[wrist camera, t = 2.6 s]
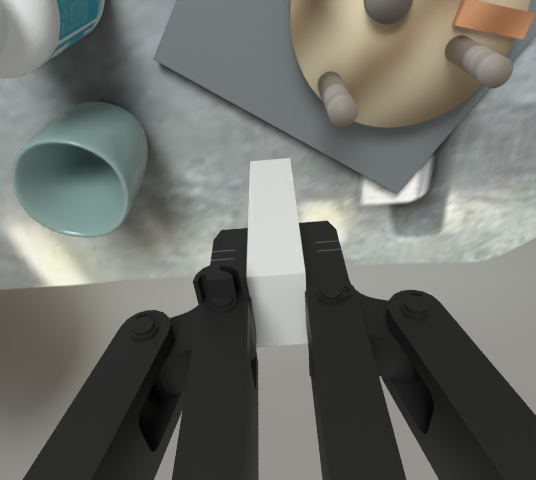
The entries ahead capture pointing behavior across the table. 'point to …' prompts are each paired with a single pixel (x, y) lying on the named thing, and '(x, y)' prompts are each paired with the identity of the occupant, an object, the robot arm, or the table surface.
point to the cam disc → (403, 54)
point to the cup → (82, 169)
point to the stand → (295, 85)
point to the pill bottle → (42, 31)
